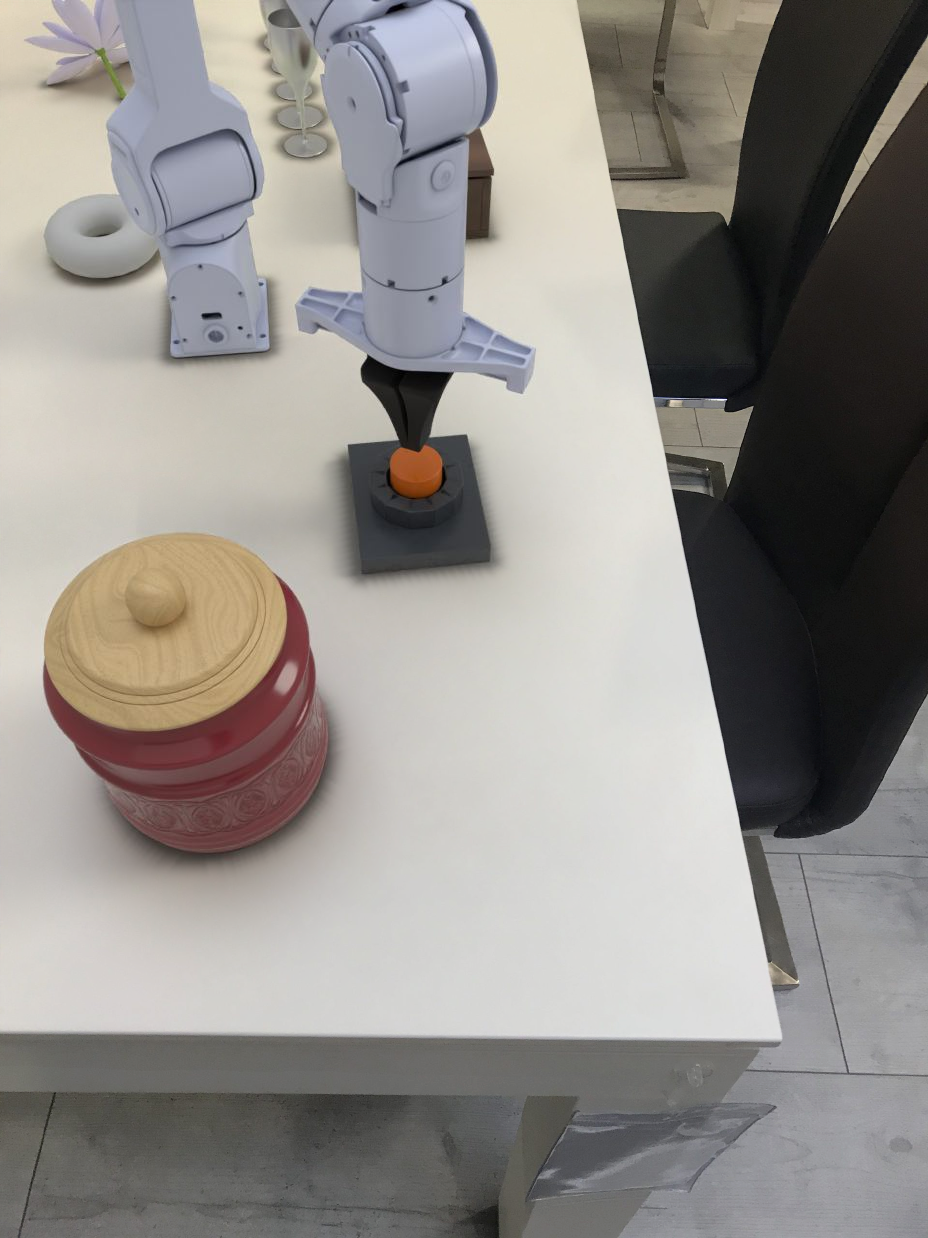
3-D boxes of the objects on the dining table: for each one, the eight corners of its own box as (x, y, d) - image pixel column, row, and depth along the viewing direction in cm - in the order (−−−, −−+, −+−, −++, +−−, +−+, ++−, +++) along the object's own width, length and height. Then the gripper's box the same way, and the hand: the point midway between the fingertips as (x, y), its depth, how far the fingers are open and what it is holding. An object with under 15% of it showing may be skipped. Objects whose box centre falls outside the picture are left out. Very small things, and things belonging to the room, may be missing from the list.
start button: (445, 496, 63) (445, 479, 62) (393, 501, 63) (392, 483, 61) (438, 458, 65) (438, 441, 64) (388, 463, 65) (387, 445, 63)
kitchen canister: (125, 669, 58) (23, 479, 44) (329, 656, 59) (296, 466, 45) (98, 868, 51) (-34, 719, 36) (332, 850, 52) (293, 697, 37)
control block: (490, 562, 64) (492, 530, 61) (361, 575, 63) (358, 543, 60) (466, 449, 70) (467, 415, 67) (349, 460, 69) (345, 426, 66)
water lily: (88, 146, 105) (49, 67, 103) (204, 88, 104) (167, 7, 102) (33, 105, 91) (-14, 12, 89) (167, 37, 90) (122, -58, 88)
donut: (147, 292, 80) (178, 224, 85) (136, 257, 77) (169, 189, 83) (35, 282, 80) (73, 215, 86) (20, 247, 77) (60, 180, 83)
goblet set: (336, 155, 93) (324, 10, 82) (279, 160, 92) (259, 14, 81) (306, 29, 108) (292, -107, 97) (257, 32, 108) (237, -105, 97)
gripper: (561, 250, 50) (537, 430, 62) (324, 190, 53) (342, 373, 64) (519, 325, 47) (502, 503, 58) (266, 257, 49) (297, 439, 61)
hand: (415, 440), depth 61 cm, fingers closed
